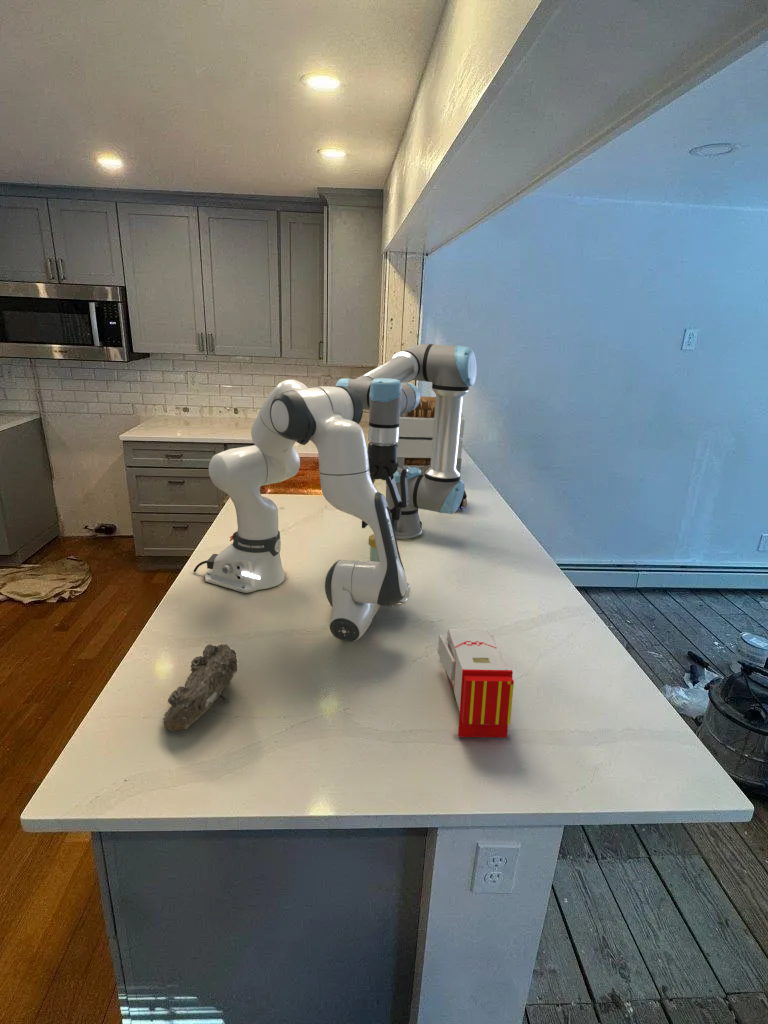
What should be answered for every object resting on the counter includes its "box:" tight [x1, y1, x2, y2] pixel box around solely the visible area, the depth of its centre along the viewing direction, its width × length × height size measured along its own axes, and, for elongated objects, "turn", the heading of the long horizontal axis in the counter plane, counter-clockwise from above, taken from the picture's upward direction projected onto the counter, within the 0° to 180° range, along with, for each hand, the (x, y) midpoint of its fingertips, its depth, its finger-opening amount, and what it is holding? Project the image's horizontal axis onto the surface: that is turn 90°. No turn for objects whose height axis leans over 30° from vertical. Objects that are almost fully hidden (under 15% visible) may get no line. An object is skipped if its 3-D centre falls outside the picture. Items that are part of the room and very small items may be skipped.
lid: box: [368, 533, 377, 548], centre depth 150 cm, size 6×6×2 cm
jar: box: [369, 545, 380, 562], centre depth 152 cm, size 5×5×17 cm
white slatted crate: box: [396, 396, 465, 475], centre depth 268 cm, size 34×33×41 cm
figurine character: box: [457, 490, 468, 512], centre depth 228 cm, size 7×8×15 cm
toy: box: [437, 628, 515, 738], centre depth 117 cm, size 12×13×30 cm
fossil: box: [162, 643, 238, 732], centre depth 111 cm, size 22×10×15 cm
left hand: (378, 575), depth 154 cm, fingers closed on jar, 4 cm apart
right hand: (379, 528), depth 148 cm, fingers open, 7 cm apart
